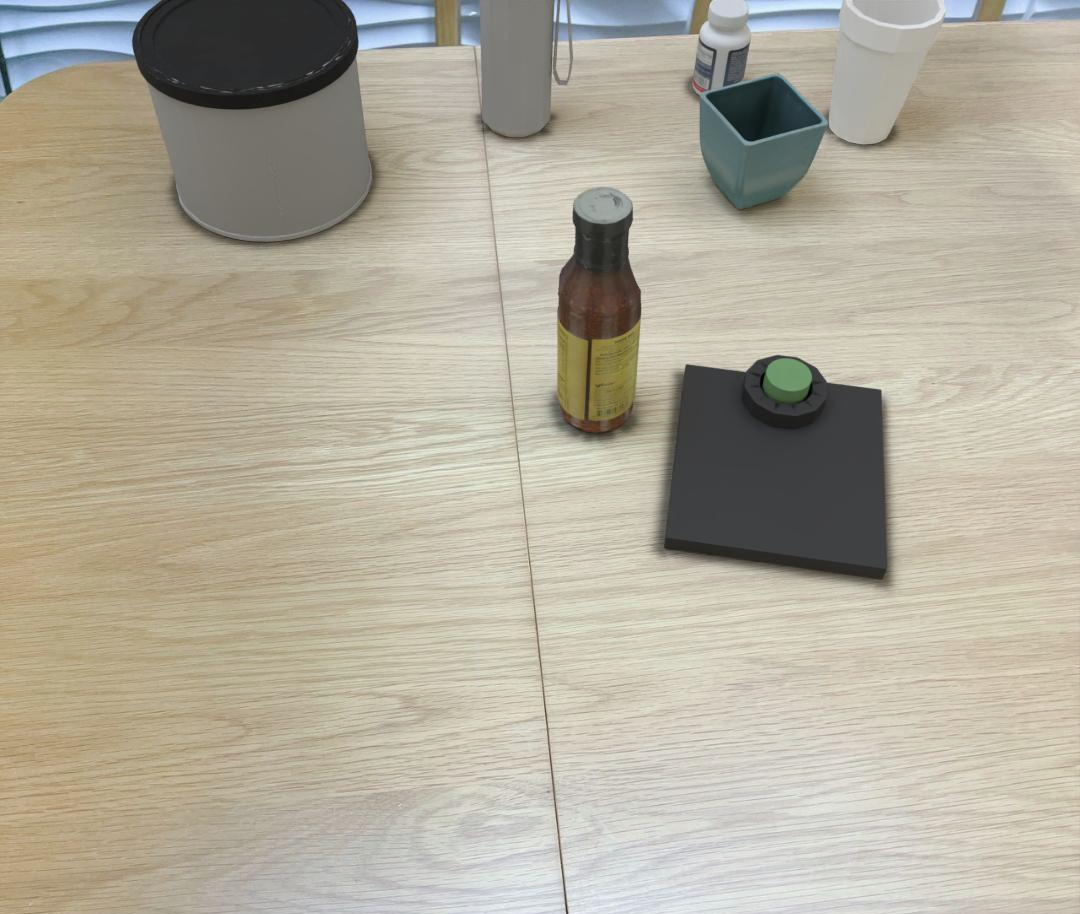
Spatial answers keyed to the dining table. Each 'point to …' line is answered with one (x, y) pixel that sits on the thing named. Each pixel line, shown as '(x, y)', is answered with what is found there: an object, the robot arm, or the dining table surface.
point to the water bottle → (519, 63)
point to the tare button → (787, 381)
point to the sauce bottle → (598, 315)
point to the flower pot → (758, 138)
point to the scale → (779, 473)
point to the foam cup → (879, 63)
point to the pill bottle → (722, 46)
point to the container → (258, 112)
